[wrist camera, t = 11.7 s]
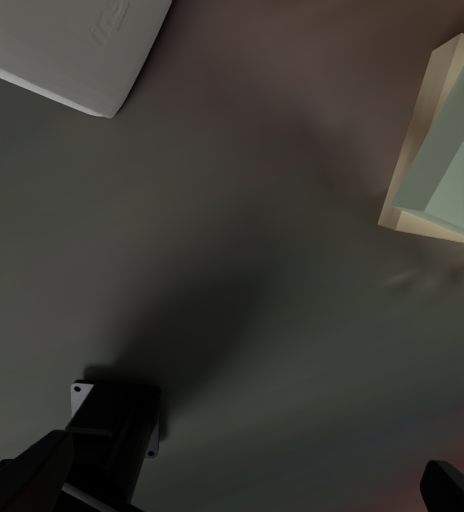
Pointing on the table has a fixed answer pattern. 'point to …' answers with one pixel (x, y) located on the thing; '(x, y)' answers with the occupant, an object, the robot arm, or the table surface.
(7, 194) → the table surface
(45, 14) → the photo printer
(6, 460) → the robot arm
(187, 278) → the table surface
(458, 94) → the tower top block
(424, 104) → the tower base block
